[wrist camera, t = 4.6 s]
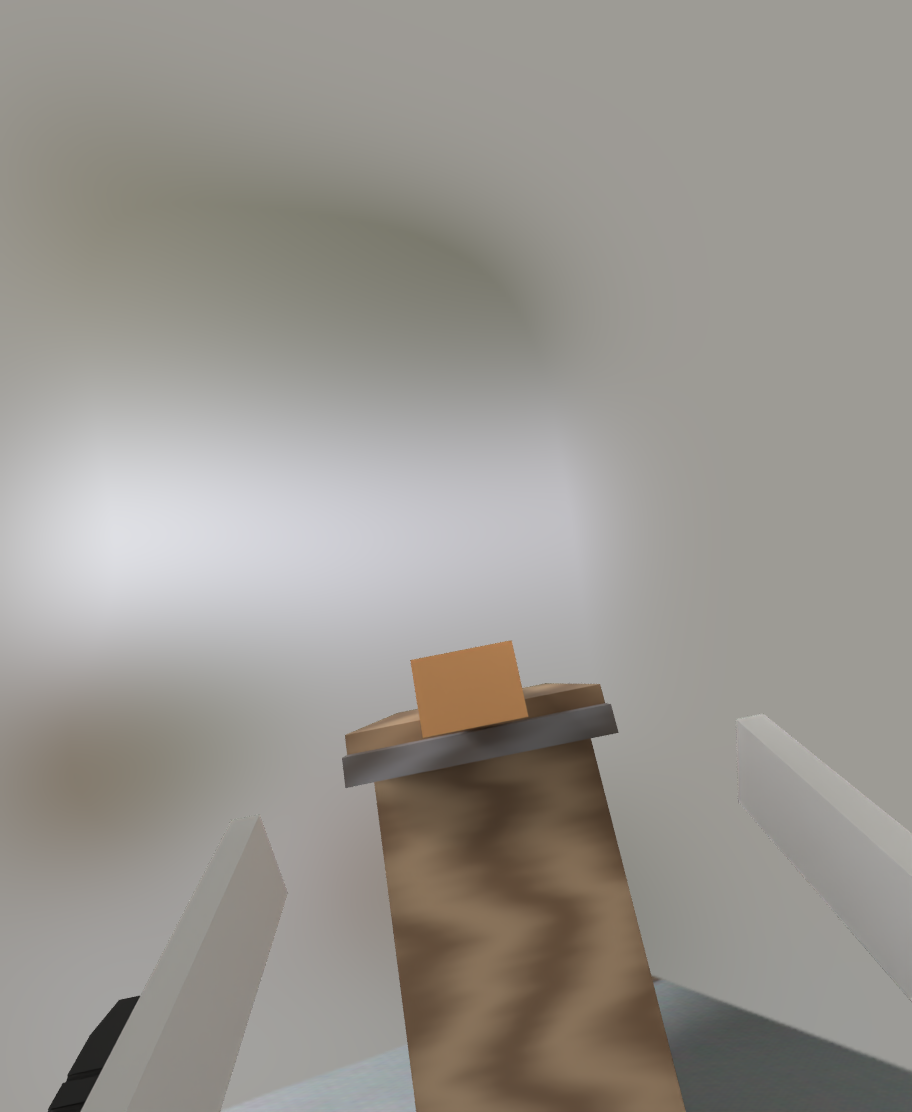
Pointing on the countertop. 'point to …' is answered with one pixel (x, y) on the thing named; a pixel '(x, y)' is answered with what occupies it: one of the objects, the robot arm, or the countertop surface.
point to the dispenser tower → (514, 914)
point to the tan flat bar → (468, 689)
